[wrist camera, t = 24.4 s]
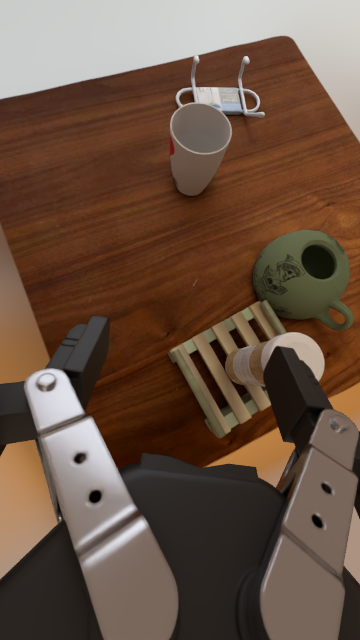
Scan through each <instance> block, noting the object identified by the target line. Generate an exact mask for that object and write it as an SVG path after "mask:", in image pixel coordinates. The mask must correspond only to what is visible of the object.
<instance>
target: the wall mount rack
mask: <svg viewBox="0 0 360 640" xmlns="http://www.w3.org/2000/svg"><path fill="white" fill-rule="evenodd" d="M196 64H199V58H198V56H197V55H195V56H194V59H193V67H192V75H191V82H192V88H185V89H182V90H180V91H179V92H178V93H177V95H176V103H177V105H178V106H179V107H181V106H183V105H182V104H181V103H180V101H179V97H180V95H181V94H183V93H186V92H193V94H194V101H195V102H199V103H206V104H209V105H212V106H214V107H216V108H217V109H219V110H220V111H221V112H223V113H224V115H240V114H241V113H244V115H245V116H250V117H258V118H263V117H264V116H265V114H264V112H259V113H254V112H256V111H257V110H258V108H259V106H260V100H259V97H258V96H257V94H256V93H254V92H253V91H251V90H248V89H243V88H242V82H241V77H242V73H243V70H244V66H245V64H246V65H248V64H249V58H248V56H245V57H244V58H243V61H242V65H241V69H240V73H239V77H238V84H239V89H237V88H206V87H204V88H203V87H195V79H194V77H195V69H196ZM238 93H240V95H241V100H242V105H243V109H241V104H240V99H239V94H238ZM244 93H248V94H250V95H252V96H253V97H254V98H255V99H256V101H257V106H256V107H255V108H254V109H252V110H247V109H246V103H245V98H244Z"/></svg>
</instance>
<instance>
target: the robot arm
mask: <svg viewBox="0 0 360 640" xmlns="http://www.w3.org/2000/svg"><path fill="white" fill-rule="evenodd" d="M109 329H110V318H107V317H101V316H95V315H93V316H92V317H91V319H90V320H89V322H88V324H87V325H83V324H78V325H77V326H75V327H74V328H72V329H71V330H70V331H69V332H68V334H67V335H66V337H65V339H64V340H63V342H62V343H61V345H60V346H59V348H58V349H57V351H56V352H55V354H54V355H53V357H52V358H51V360H50V361H49V363H48V365H47V366H46V368H45V369H42V370H39V371H37V372H35V373H33V374H32V375H30V376H29V377H28V378H27V380H26V381H22V382H15V383H6V384H0V456H1V454H2V452H3V450H4V449H5V447H6V445H7V444H10V443H16V442H22V441H28V440H34V439H35V442H36V446H37V449H38V453H39V456H40V459H41V463H42V467H43V470H44V474H45V477H46V481H47V485H48V488H49V493H50V497H51V501H52V505H53V508H54V512H55V515H56V519H57V522H58V524H57V525H56V526H55V527H54V528H53V529H52V530H51V531H50V532H49V533H48V534H47V535H46V536H45V537H44V538H43V539H42V540H41V541H40V542H39V543H38V544H37V545H36V546H35V547H34V548H33V549H32V550H31V551H29V553H27V554H26V555H25V556H24V557H23V558H22V559H21V560H20V561H19V562H18V563H17V564H16V565H15V566H14V567H13V568H12V569H11V570H10V571H9V572H8V573H7V574H6V575H5V576H3V577H2V578H1V579H0V640H360V584H359V583H358V582H357V581H356V579H355V578H354V577H353V576H352V575H351V574H350V572H349V571H348V570H347V569H346V568H345V567H344V565H343V564H344V559H345V553H346V547H347V541H348V536H349V530H350V524H351V518H352V513H353V507H354V506H355V509H356V511H357V513H358V516H359V518H360V432H359V431H358V429H357V427H356V425H355V424H354V423H353V422H352V421H351V420H350V419H349V418H348V417H347V416H346V415H344V414H343V413H341V412H339V411H336V410H334V409H333V407H332V405H331V404H330V402H329V400H328V398H327V396H326V395H325V393H324V391H323V389H322V388H321V386H319V382H318V380H317V379H316V378H315V375H314V373H313V372H312V370H311V368H310V367H309V366H308V365H307V364H306V363H305V362H304V361H303V360H300V359H299V357H298V355H297V353H296V352H295V350H294V349H293V348H288V347H282V346H276V347H275V348H274V350H273V352H272V354H271V356H270V358H269V360H268V362H267V364H266V366H265V369H264V372H263V381H264V384H265V387H266V390H267V393H268V396H269V399H270V402H271V406H272V409H273V412H274V415H275V418H276V421H277V424H278V427H279V430H280V433H281V436H282V439H283V441H284V442H290V443H294V444H295V446H296V447H295V449H294V450H293V452H292V454H291V456H290V458H289V461H288V463H287V465H286V467H285V470H284V472H283V474H282V476H281V478H280V481H279V483H278V485H277V487H276V488H275V487H273V486H272V485H271V484H269V483H268V482H266V481H264V480H262V479H260V478H258V475H257V470H256V467H250V466H242V465H234V464H225V465H218V466H211V467H205V468H199V467H196V466H194V465H191V464H188V463H186V462H183V461H181V460H178V459H176V458H173V457H170V456H163V455H155V454H147V453H142V458H141V462H138V463H133V464H129V465H126V466H124V467H121V468H119V469H117V467H116V465H115V463H114V461H113V459H112V457H111V455H110V453H109V451H108V449H107V447H106V444H105V442H104V440H103V438H102V436H101V434H100V432H99V430H98V428H97V426H96V424H95V422H94V420H93V418H92V416H91V415H90V414H85V409H86V407H87V404H88V402H89V399H90V397H91V394H92V392H93V389H94V387H95V384H96V381H97V379H98V376H99V374H100V371H101V369H102V366H103V364H104V361H105V359H106V356H107V352H108V347H109Z"/></svg>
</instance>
